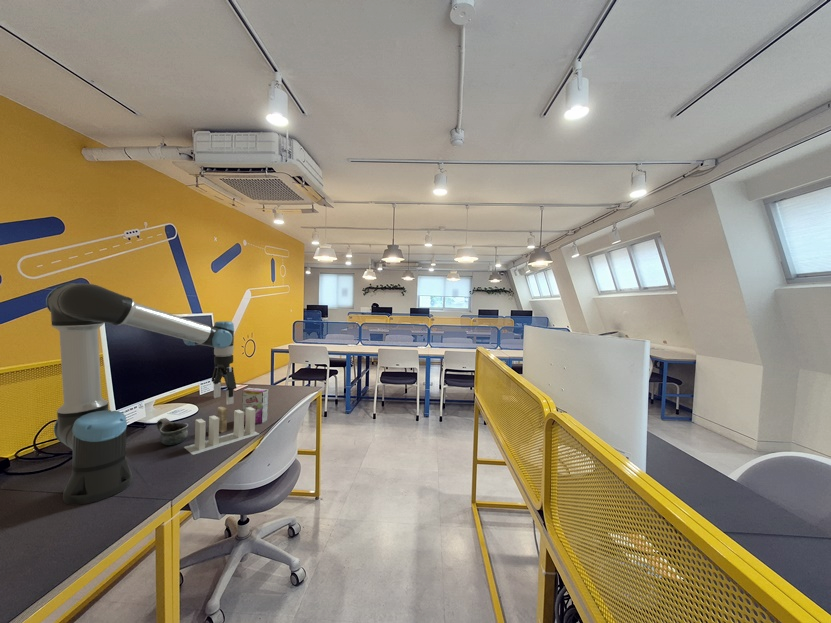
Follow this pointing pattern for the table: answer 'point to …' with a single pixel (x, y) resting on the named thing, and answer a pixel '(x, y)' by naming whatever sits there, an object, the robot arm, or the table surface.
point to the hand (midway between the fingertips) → (223, 400)
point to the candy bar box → (256, 403)
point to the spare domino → (222, 419)
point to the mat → (222, 441)
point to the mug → (172, 431)
